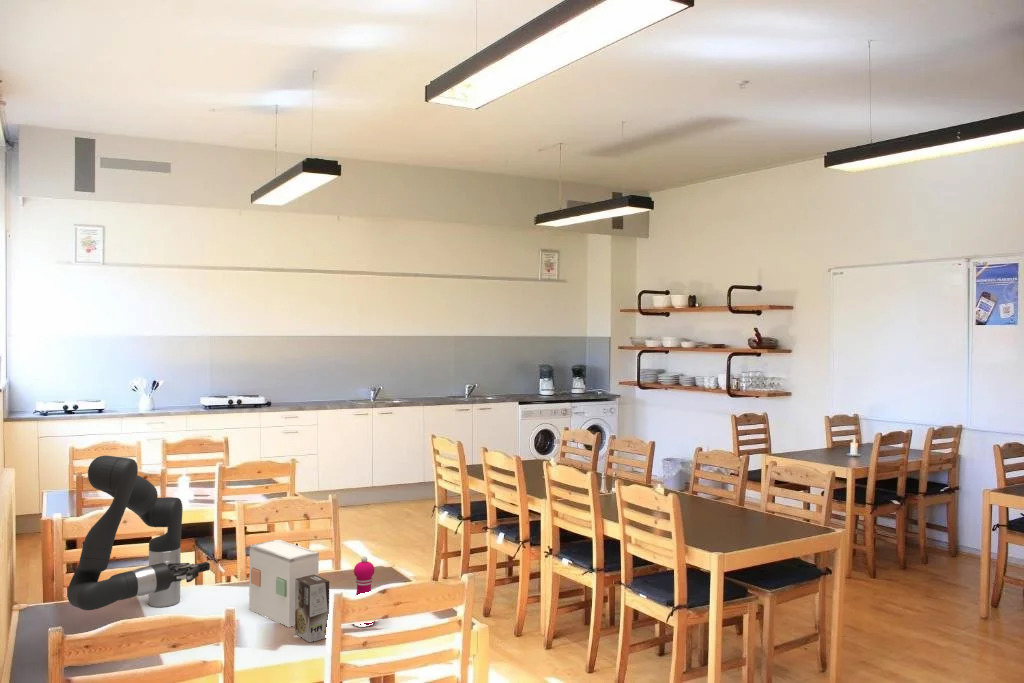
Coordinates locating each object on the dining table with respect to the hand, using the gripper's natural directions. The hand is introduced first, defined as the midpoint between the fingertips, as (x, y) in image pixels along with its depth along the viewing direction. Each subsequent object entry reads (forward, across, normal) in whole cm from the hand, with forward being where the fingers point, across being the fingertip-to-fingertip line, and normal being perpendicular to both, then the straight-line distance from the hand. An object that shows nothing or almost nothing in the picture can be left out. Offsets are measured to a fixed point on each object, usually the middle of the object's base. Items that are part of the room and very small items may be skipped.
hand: (208, 565), depth 238 cm
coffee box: (+16, -28, +18) cm, 37 cm away
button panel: (+20, -7, +18) cm, 28 cm away
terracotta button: (+17, 0, +9) cm, 19 cm away
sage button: (+17, -14, +9) cm, 24 cm away
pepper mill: (+32, -31, +18) cm, 48 cm away
